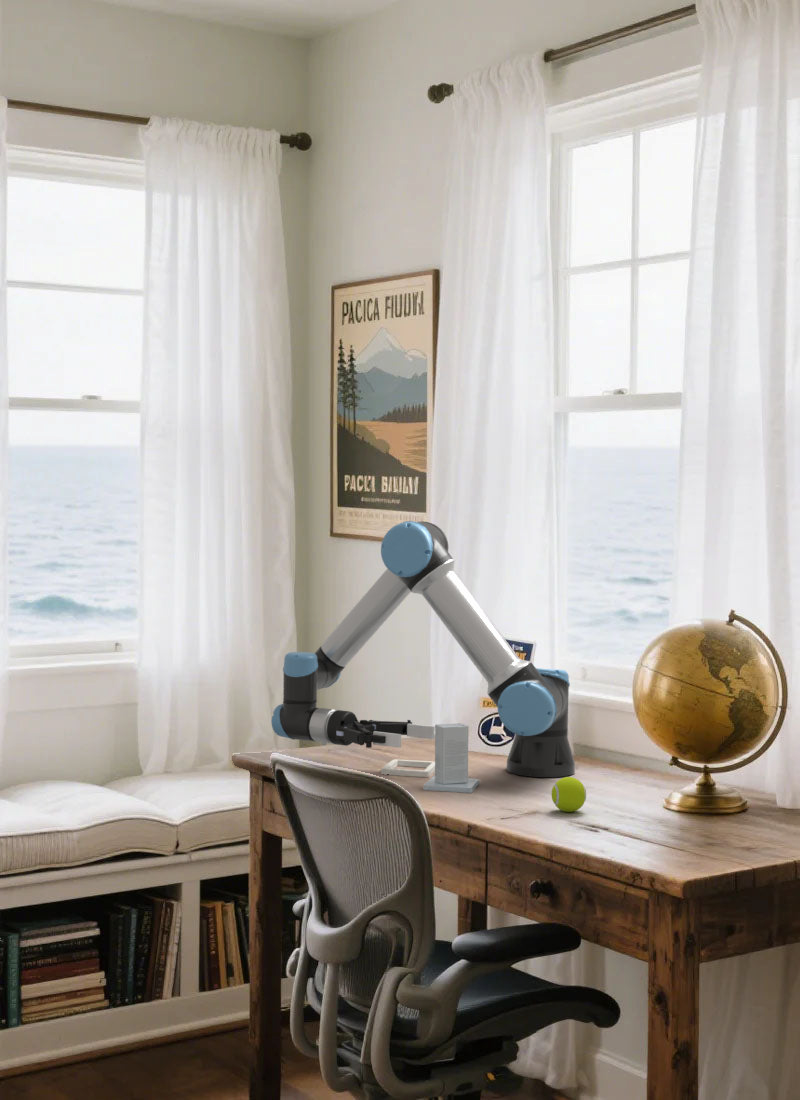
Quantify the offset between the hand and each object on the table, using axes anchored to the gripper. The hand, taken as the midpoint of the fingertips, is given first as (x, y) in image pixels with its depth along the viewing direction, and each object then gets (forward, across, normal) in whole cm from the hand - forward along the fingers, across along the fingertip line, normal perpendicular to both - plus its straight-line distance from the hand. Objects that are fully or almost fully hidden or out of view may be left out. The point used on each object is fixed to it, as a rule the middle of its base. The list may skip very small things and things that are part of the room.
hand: (417, 736), depth 297 cm
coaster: (+9, 0, -10) cm, 13 cm away
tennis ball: (+39, +7, -10) cm, 41 cm away
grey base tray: (-8, -10, -10) cm, 16 cm away
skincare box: (+8, 0, -9) cm, 12 cm away
